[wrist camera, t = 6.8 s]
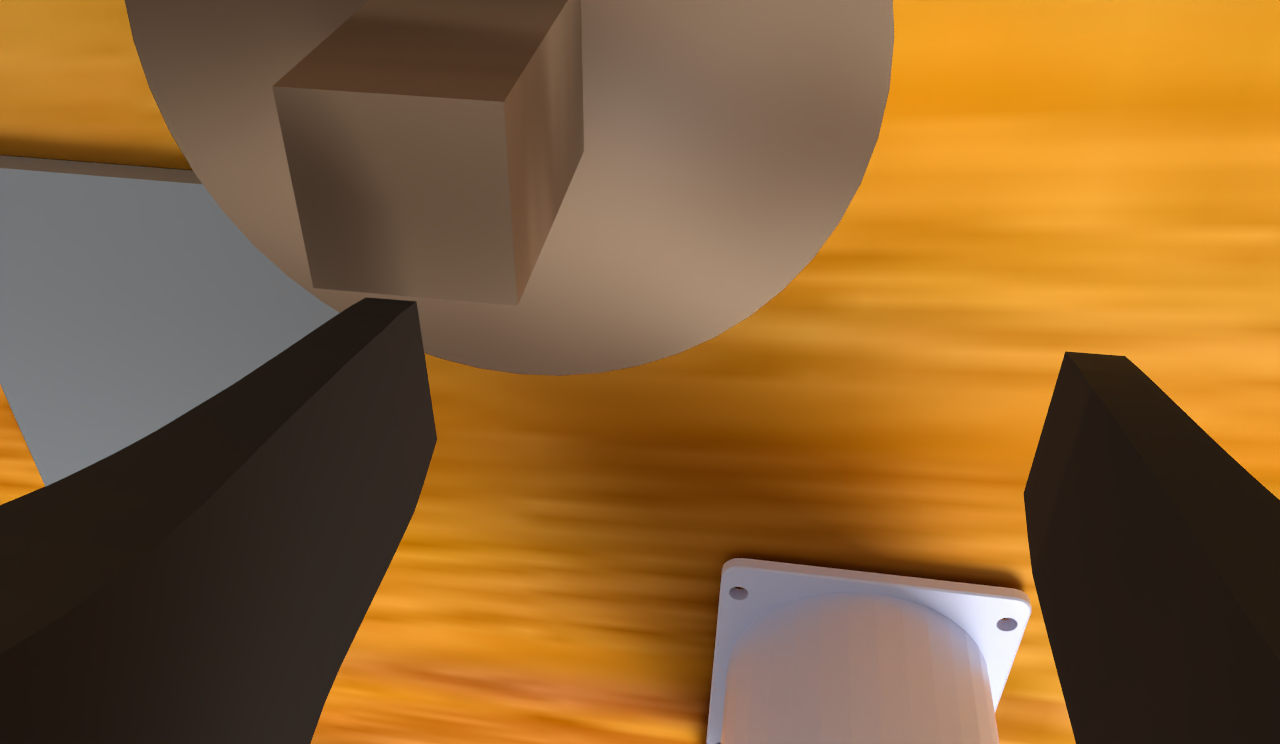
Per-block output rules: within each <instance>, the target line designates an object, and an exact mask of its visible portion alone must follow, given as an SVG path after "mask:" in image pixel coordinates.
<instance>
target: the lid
mask: <svg viewBox="0 0 1280 744" xmlns="http://www.w3.org/2000/svg"><path fill="white" fill-rule="evenodd" d="M125 3H126V8H127V13H128V17H129V22H130V26H131V31H132V36H133V40H134V44H135V46H136V49H137V52H138V55H139V58H140V61H141V64H142V67H143V70H144V73H145V76H146V79H147V82H148V85H149V88H150V90H151V92H152V94H153V96H154V99H155V101H156V103H157V105H158V107H159V109H160V112H161V114H162V116H163V118H164V120H165V122H166V124H167V127H168V129H169V131H170V133H171V135H172V136H173V138H174V140H175V141H176V143H177V145H178V146H179V148H180V150H181V151H182V153H183V155H184V156H185V158H186V160H187V161H188V163H189V165H190V166H191V168H192V170H193V171H194V173H195V175H196V176H197V177H198V179H199V180H200V181H201V183H202V184H203V185H204V187H205V188H206V189H207V191H208V192H209V193H210V195H211V196H212V197H213V199H214V200H215V201H216V203H217V204H218V205H219V207H220V208H221V209H222V211H223V212H224V213H225V214H226V215H227V216H228V218H229V219H230V220H231V221H232V222H233V223H234V224H235V225H236V226H237V227H238V229H239V230H240V231H241V232H242V233H243V234H244V235H245V236H246V237H247V238H248V240H249V241H250V242H251V243H252V244H253V245H254V246H255V247H256V248H257V249H258V250H259V251H261V252H262V253H263V254H264V255H265V256H266V257H267V258H268V259H269V260H270V261H272V262H273V263H274V264H275V265H276V266H277V267H278V268H279V269H280V270H282V271H283V272H284V273H285V274H286V275H287V276H288V277H290V278H291V279H292V280H294V281H295V282H296V283H298V284H299V285H300V286H302V287H303V288H304V289H306V290H307V291H308V292H310V293H311V294H312V295H314V296H315V297H316V298H318V299H319V300H320V301H322V302H323V303H325V304H326V305H328V306H330V307H331V308H333V309H335V310H336V311H338V312H340V313H341V312H342V311H344V310H345V309H347V308H349V307H350V306H352V305H353V304H355V303H357V302H359V301H360V300H362V299H364V298H366V297H368V298H381V299H394V300H407V301H417V308H418V314H419V321H420V328H421V335H422V342H423V348H424V353H426V354H429V355H432V356H435V357H437V358H441V359H445V360H449V361H453V362H457V363H461V364H465V365H469V366H473V367H476V368H482V369H489V370H495V371H502V372H509V373H516V374H532V375H556V376H561V375H576V374H591V373H602V372H607V371H613V370H618V369H624V368H629V367H634V366H640V365H643V364H646V363H649V362H653V361H656V360H659V359H662V358H666V357H669V356H672V355H675V354H678V353H681V352H683V351H685V350H687V349H690V348H692V347H694V346H696V345H699V344H701V343H703V342H705V341H708V340H710V339H712V338H714V337H716V336H718V335H719V334H721V333H723V332H724V331H726V330H728V329H729V328H731V327H733V326H734V325H736V324H738V323H739V322H741V321H743V320H744V319H746V318H748V317H749V316H751V315H752V314H753V313H754V312H756V311H757V310H758V309H759V308H761V307H762V306H763V305H764V304H766V303H767V302H768V301H769V300H771V299H772V298H773V297H775V296H776V295H777V294H778V293H780V292H781V291H782V290H783V289H784V288H785V287H786V286H787V285H788V284H789V283H790V282H791V281H792V280H793V279H794V278H795V277H796V276H797V275H798V274H799V273H800V272H801V271H802V269H803V268H804V267H805V266H806V265H807V264H808V263H809V262H810V261H811V260H812V259H813V258H814V256H815V255H816V254H817V252H818V251H819V250H820V248H821V247H822V246H823V244H824V243H825V242H826V240H827V239H828V237H829V236H830V235H831V233H832V232H833V231H834V229H835V228H836V227H837V225H838V224H839V222H840V220H841V219H842V217H843V215H844V213H845V211H846V209H847V208H848V206H849V204H850V202H851V200H852V198H853V197H854V195H855V193H856V191H857V189H858V187H859V186H860V184H861V181H862V179H863V176H864V174H865V171H866V168H867V166H868V163H869V160H870V158H871V155H872V153H873V150H874V147H875V145H876V142H877V139H878V136H879V132H880V127H881V123H882V119H883V114H884V110H885V106H886V101H887V97H888V93H889V87H890V76H891V65H892V54H893V44H894V22H893V0H125Z"/></svg>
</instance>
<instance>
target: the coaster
mask: <svg viewBox="0 0 1280 744" xmlns="http://www.w3.org/2000/svg"><path fill="white" fill-rule="evenodd" d="M339 313H340V312H338V311H336V310H335V309H333V308H331V307H330V306H328V305H326V304H325V303H323V302H322V301H320V300H319V299H318V298H316V297H315V296H314V295H312V294H311V293H310V292H308V291H307V290H306V289H304V288H303V287H302V286H300V285H299V284H298V283H296V282H295V281H294V280H292V279H291V278H290V277H288V276H287V275H286V274H285V273H284V272H283V271H282V270H280V269H279V268H278V267H277V266H276V265H275V264H274V263H273V262H272V261H270V260H269V259H268V258H267V257H266V256H265V255H264V254H263V253H262V252H261V251H259V250H258V249H257V248H256V247H255V246H254V245H253V244H252V243H251V242H250V241H249V240H248V238H247V237H246V236H245V235H244V234H243V233H242V232H241V231H240V230H239V229H238V227H237V226H236V225H235V224H234V223H233V222H232V221H231V220H230V219H229V218H228V216H227V215H226V214H225V213H224V212H223V211H222V209H221V208H220V207H219V205H218V204H217V203H216V201H215V200H214V199H213V197H212V196H211V195H210V193H209V192H208V191H207V189H206V188H205V187H204V185H203V184H202V183H201V181H200V180H199V179H198V177H197V176H196V175H195V173H194V171H193V170H181V169H168V168H155V167H143V166H130V165H117V164H105V163H92V162H79V161H67V160H54V159H41V158H28V157H16V156H3V155H0V384H1V386H2V389H3V391H4V393H5V396H6V398H7V400H8V402H9V405H10V407H11V409H12V411H13V414H14V416H15V418H16V421H17V423H18V425H19V427H20V430H21V432H22V434H23V436H24V439H25V441H26V443H27V446H28V448H29V450H30V452H31V455H32V457H33V459H34V461H35V464H36V466H37V468H38V471H39V473H40V475H41V477H42V480H43V482H44V484H45V486H48V485H50V484H52V483H54V482H57V481H59V480H61V479H63V478H65V477H67V476H69V475H71V474H74V473H76V472H78V471H80V470H82V469H84V468H86V467H88V466H90V465H92V464H94V463H96V462H98V461H100V460H102V459H104V458H106V457H108V456H110V455H112V454H114V453H116V452H118V451H120V450H122V449H123V448H125V447H127V446H129V445H131V444H133V443H135V442H137V441H139V440H140V439H142V438H144V437H146V436H148V435H149V434H151V433H153V432H155V431H157V430H158V429H160V428H162V427H163V426H165V425H167V424H168V423H170V422H172V421H173V420H175V419H177V418H178V417H180V416H181V415H183V414H185V413H186V412H188V411H190V410H191V409H193V408H195V407H196V406H198V405H200V404H201V403H203V402H205V401H206V400H208V399H210V398H211V397H213V396H215V395H216V394H218V393H220V392H221V391H223V390H225V389H226V388H228V387H229V386H231V385H233V384H234V383H236V382H237V381H239V380H240V379H242V378H243V377H245V376H246V375H248V374H249V373H251V372H252V371H254V370H255V369H257V368H258V367H260V366H261V365H263V364H264V363H266V362H267V361H269V360H270V359H272V358H273V357H275V356H276V355H278V354H280V353H281V352H283V351H284V350H286V349H287V348H289V347H290V346H291V345H293V344H294V343H296V342H297V341H299V340H300V339H302V338H303V337H305V336H306V335H308V334H309V333H311V332H312V331H314V330H315V329H317V328H318V327H320V326H321V325H322V324H324V323H325V322H327V321H328V320H330V319H331V318H333V317H334V316H336V315H338V314H339Z"/></svg>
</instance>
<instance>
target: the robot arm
mask: <svg viewBox="0 0 1280 744" xmlns="http://www.w3.org/2000/svg"><path fill="white" fill-rule="evenodd" d="M436 441H437V436H436V430H435V423H434V416H433V409H432V402H431V396H430V389H429V382H428V375H427V369H426V362H425V355H424V348H423V342H422V335H421V328H420V321H419V314H418V308H417V301H407V300H394V299H381V298H368V297H366V298H364V299H362V300H360V301H359V302H357V303H355V304H353V305H352V306H350V307H349V308H347V309H345V310H344V311H342V312H341V313H339V314H338V315H336V316H334V317H333V318H331V319H330V320H328V321H327V322H325V323H324V324H322V325H321V326H320V327H318V328H317V329H315V330H314V331H312V332H311V333H309V334H308V335H306V336H305V337H303V338H302V339H300V340H299V341H297V342H296V343H294V344H293V345H291V346H290V347H289V348H287V349H286V350H284V351H283V352H281V353H280V354H278V355H276V356H275V357H273V358H272V359H270V360H269V361H267V362H266V363H264V364H263V365H261V366H260V367H258V368H257V369H255V370H254V371H252V372H251V373H249V374H248V375H246V376H245V377H243V378H242V379H240V380H239V381H237V382H236V383H234V384H233V385H231V386H229V387H228V388H226V389H225V390H223V391H221V392H220V393H218V394H216V395H215V396H213V397H211V398H210V399H208V400H206V401H205V402H203V403H201V404H200V405H198V406H196V407H195V408H193V409H191V410H190V411H188V412H186V413H185V414H183V415H181V416H180V417H178V418H177V419H175V420H173V421H172V422H170V423H168V424H167V425H165V426H163V427H162V428H160V429H158V430H157V431H155V432H153V433H151V434H149V435H148V436H146V437H144V438H142V439H140V440H139V441H137V442H135V443H133V444H131V445H129V446H127V447H125V448H123V449H122V450H120V451H118V452H116V453H114V454H112V455H110V456H108V457H106V458H104V459H102V460H100V461H98V462H96V463H94V464H92V465H90V466H88V467H86V468H84V469H82V470H80V471H78V472H76V473H74V474H71V475H69V476H67V477H65V478H63V479H61V480H59V481H57V482H54V483H52V484H50V485H48V486H46V487H43V488H41V489H38V490H36V491H34V492H31V493H29V494H26V495H24V496H22V497H19V498H17V499H14V500H12V501H10V502H7V503H5V504H3V505H0V744H310V743H311V740H312V737H313V734H314V732H315V729H316V726H317V723H318V720H319V717H320V715H321V712H322V709H323V706H324V704H325V701H326V699H327V696H328V694H329V692H330V689H331V687H332V685H333V682H334V680H335V678H336V675H337V673H338V671H339V668H340V666H341V664H342V662H343V660H344V658H345V656H346V654H347V652H348V650H349V648H350V645H351V643H352V641H353V639H354V637H355V635H356V633H357V631H358V629H359V627H360V625H361V623H362V621H363V618H364V616H365V614H366V612H367V610H368V608H369V606H370V604H371V602H372V600H373V598H374V596H375V594H376V592H377V589H378V587H379V585H380V583H381V581H382V579H383V577H384V575H385V573H386V571H387V569H388V567H389V565H390V562H391V560H392V558H393V556H394V554H395V552H396V550H397V548H398V546H399V543H400V541H401V539H402V537H403V535H404V533H405V531H406V529H407V526H408V524H409V522H410V520H411V518H412V515H413V513H414V511H415V508H416V505H417V502H418V499H419V496H420V493H421V490H422V487H423V484H424V481H425V477H426V474H427V471H428V467H429V464H430V461H431V457H432V454H433V451H434V447H435V444H436ZM1024 502H1025V512H1026V522H1027V532H1028V541H1029V549H1030V557H1031V566H1032V574H1033V578H1034V582H1035V586H1036V590H1037V594H1038V598H1039V602H1040V606H1041V610H1042V614H1043V618H1044V622H1045V626H1046V630H1047V634H1048V638H1049V642H1050V646H1051V649H1052V653H1053V657H1054V661H1055V665H1056V668H1057V672H1058V676H1059V680H1060V684H1061V687H1062V691H1063V695H1064V699H1065V703H1066V707H1067V710H1068V714H1069V718H1070V722H1071V726H1072V729H1073V733H1074V737H1075V741H1076V744H1280V500H1279V499H1278V498H1276V497H1275V496H1274V495H1273V494H1272V493H1271V492H1270V491H1268V490H1267V489H1266V488H1265V487H1264V486H1263V485H1262V484H1261V483H1259V482H1258V481H1257V480H1256V479H1255V478H1254V477H1253V476H1252V475H1251V474H1249V473H1248V472H1247V471H1246V470H1245V469H1244V468H1243V467H1242V466H1241V465H1240V464H1239V463H1238V462H1236V461H1235V460H1234V459H1233V458H1232V457H1231V456H1230V455H1229V454H1228V453H1227V452H1226V451H1225V450H1224V449H1222V448H1221V447H1220V446H1219V445H1218V444H1217V443H1216V442H1215V441H1214V440H1213V439H1212V438H1211V437H1210V436H1209V435H1208V434H1207V433H1206V432H1205V431H1204V430H1202V429H1201V428H1200V427H1199V426H1198V425H1197V424H1196V423H1195V422H1194V421H1193V420H1192V419H1191V418H1190V417H1189V416H1188V415H1187V414H1186V413H1185V412H1184V411H1183V410H1182V409H1181V408H1180V407H1179V406H1178V405H1177V404H1176V403H1175V402H1174V401H1173V400H1171V399H1170V398H1169V397H1168V396H1167V395H1166V394H1165V393H1164V392H1163V391H1162V390H1161V389H1160V388H1159V387H1158V386H1157V385H1156V384H1155V383H1154V382H1153V381H1152V380H1151V379H1150V378H1149V377H1148V376H1147V375H1145V374H1144V373H1143V372H1142V371H1141V370H1140V369H1139V368H1138V367H1137V366H1136V365H1134V364H1133V363H1132V362H1131V361H1130V360H1129V359H1128V358H1126V357H1125V356H1115V355H1102V354H1089V353H1076V352H1065V355H1064V358H1063V362H1062V365H1061V369H1060V372H1059V375H1058V379H1057V382H1056V386H1055V389H1054V392H1053V396H1052V399H1051V403H1050V406H1049V409H1048V413H1047V416H1046V419H1045V423H1044V426H1043V430H1042V433H1041V436H1040V440H1039V443H1038V447H1037V450H1036V453H1035V457H1034V460H1033V464H1032V467H1031V470H1030V474H1029V477H1028V481H1027V484H1026V487H1025V491H1024ZM734 587H742V588H745V589H737V588H734ZM1030 614H1031V604H1030V599H1029V597H1028V596H1027V594H1026V593H1024V592H1023V591H1021V590H1018V589H1014V588H1005V587H996V586H988V585H979V584H970V583H961V582H952V581H943V580H934V579H925V578H916V577H907V576H898V575H890V574H881V573H872V572H863V571H854V570H845V569H836V568H827V567H818V566H809V565H800V564H792V563H783V562H774V561H765V560H756V559H747V558H734V559H731V560H728V561H727V562H726V563H725V564H724V565H723V568H722V575H721V586H720V597H719V608H718V619H717V630H716V641H715V652H714V663H713V674H712V685H711V696H710V707H709V718H708V729H707V740H706V744H999V737H998V731H997V724H996V718H995V711H996V709H997V706H998V703H999V700H1000V697H1001V695H1002V692H1003V689H1004V686H1005V683H1006V681H1007V678H1008V675H1009V672H1010V670H1011V667H1012V664H1013V661H1014V658H1015V656H1016V653H1017V650H1018V647H1019V645H1020V642H1021V639H1022V636H1023V633H1024V631H1025V628H1026V625H1027V622H1028V620H1029V617H1030ZM1003 618H1010V619H1004V620H1002V619H1003Z"/></svg>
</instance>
